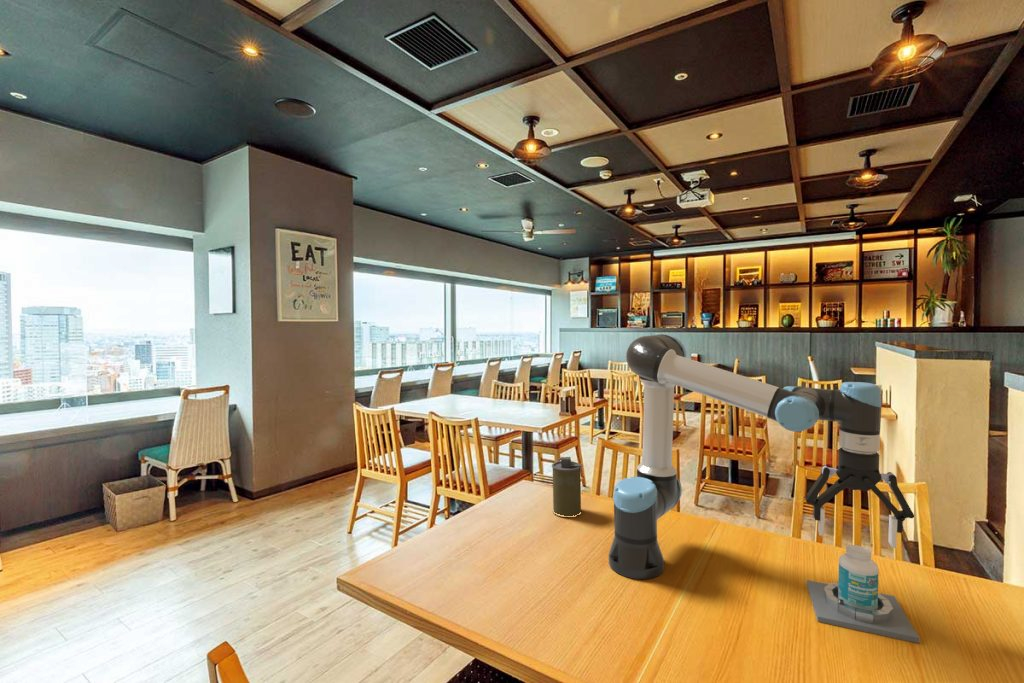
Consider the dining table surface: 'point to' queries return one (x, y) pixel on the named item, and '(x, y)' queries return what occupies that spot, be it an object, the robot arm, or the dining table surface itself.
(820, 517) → the robot arm
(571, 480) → the canister
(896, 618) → the board
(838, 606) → the collar
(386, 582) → the dining table surface
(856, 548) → the pill bottle
